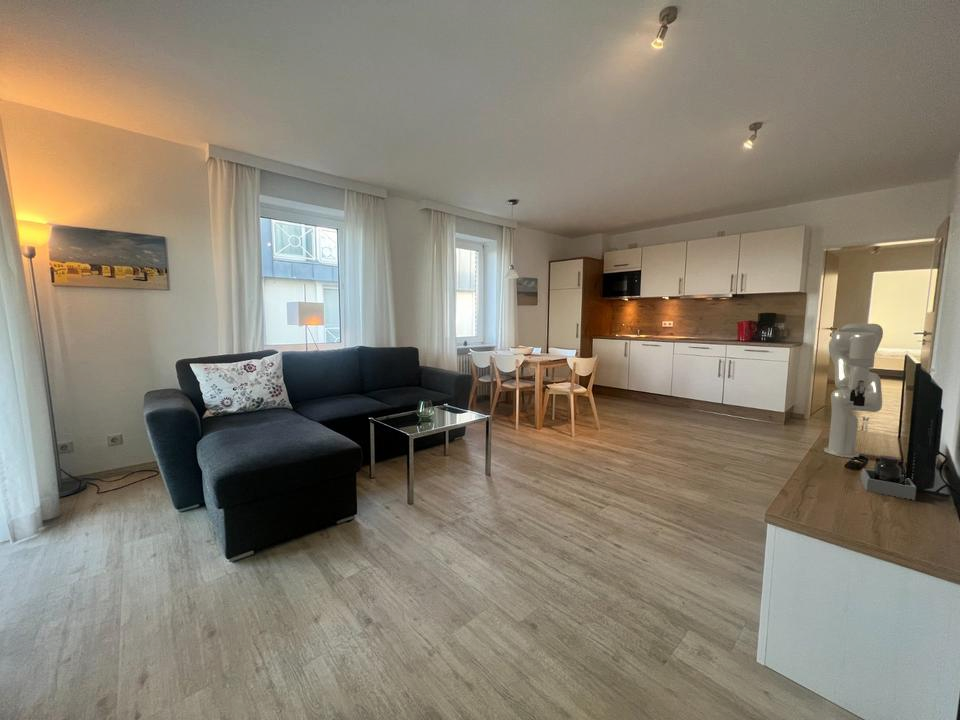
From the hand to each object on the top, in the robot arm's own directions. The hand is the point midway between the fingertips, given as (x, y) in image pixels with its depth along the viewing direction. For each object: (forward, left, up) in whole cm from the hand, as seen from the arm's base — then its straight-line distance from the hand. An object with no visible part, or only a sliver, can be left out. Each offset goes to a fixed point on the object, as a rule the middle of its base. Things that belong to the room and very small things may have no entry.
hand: (856, 403), depth 163 cm
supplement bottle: (+14, +9, -30) cm, 34 cm away
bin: (+14, +9, -30) cm, 35 cm away
